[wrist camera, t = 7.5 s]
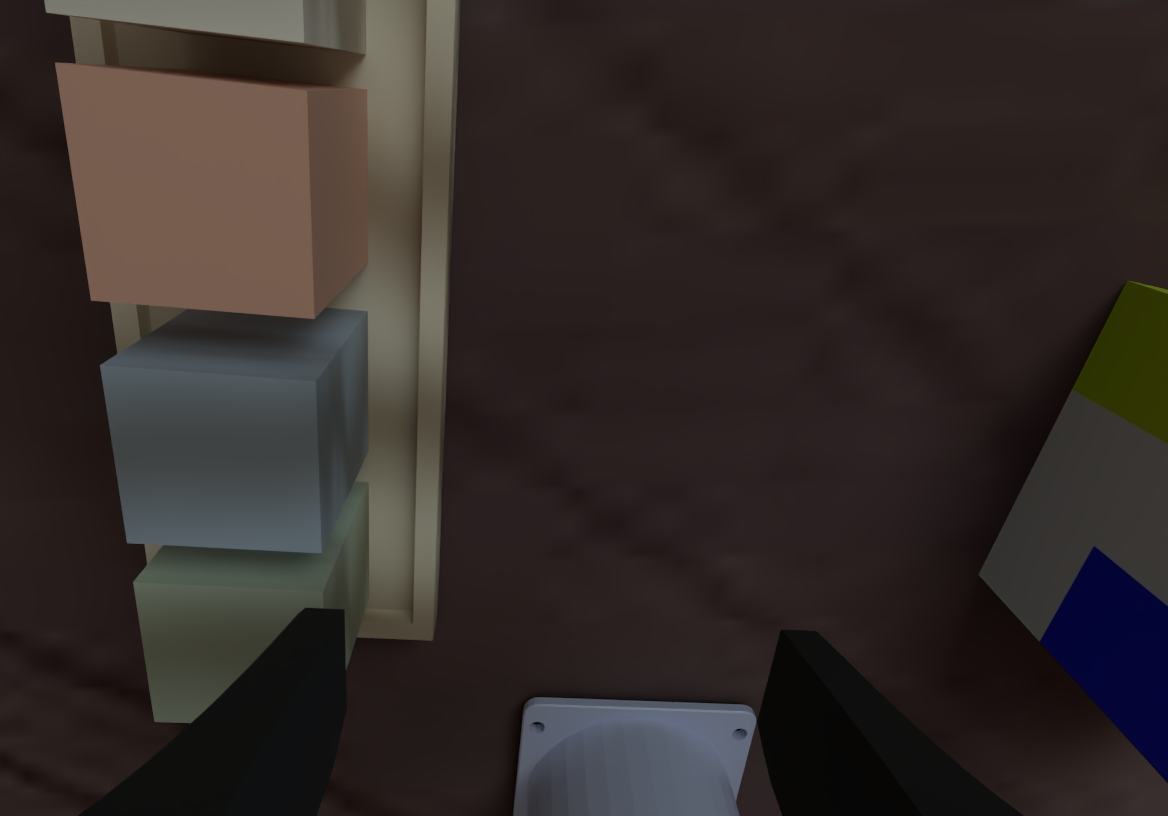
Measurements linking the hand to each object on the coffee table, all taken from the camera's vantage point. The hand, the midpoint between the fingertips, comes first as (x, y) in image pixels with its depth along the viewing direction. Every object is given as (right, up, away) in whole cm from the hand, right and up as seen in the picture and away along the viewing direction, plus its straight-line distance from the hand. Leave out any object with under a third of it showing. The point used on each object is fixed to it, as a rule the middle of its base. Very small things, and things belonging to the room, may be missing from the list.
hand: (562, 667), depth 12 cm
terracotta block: (-7, +10, +5) cm, 13 cm away
